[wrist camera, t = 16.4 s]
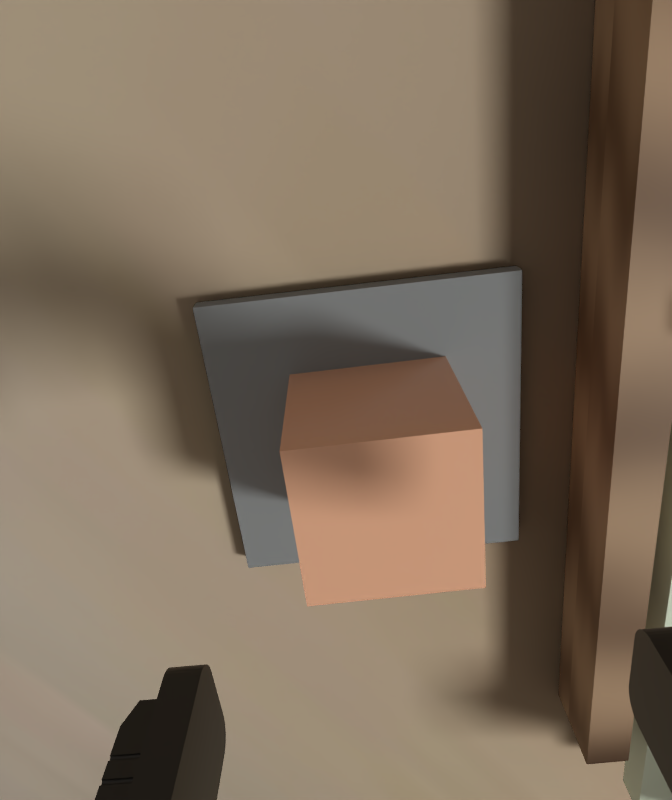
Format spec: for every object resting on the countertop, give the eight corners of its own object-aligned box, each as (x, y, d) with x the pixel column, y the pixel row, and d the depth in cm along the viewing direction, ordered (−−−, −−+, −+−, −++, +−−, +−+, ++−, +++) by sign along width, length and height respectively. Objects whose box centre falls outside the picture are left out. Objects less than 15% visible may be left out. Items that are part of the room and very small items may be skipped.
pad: (196, 302, 19) (192, 308, 19) (516, 265, 19) (522, 270, 19) (250, 557, 24) (248, 567, 23) (513, 530, 23) (518, 540, 23)
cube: (289, 374, 20) (279, 451, 15) (445, 356, 20) (482, 428, 15) (310, 504, 22) (307, 606, 17) (452, 488, 22) (485, 587, 17)
